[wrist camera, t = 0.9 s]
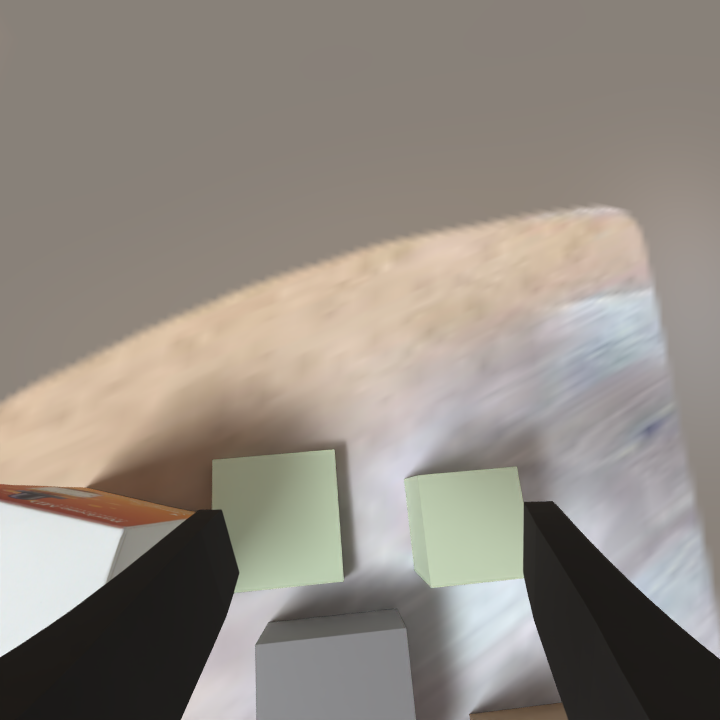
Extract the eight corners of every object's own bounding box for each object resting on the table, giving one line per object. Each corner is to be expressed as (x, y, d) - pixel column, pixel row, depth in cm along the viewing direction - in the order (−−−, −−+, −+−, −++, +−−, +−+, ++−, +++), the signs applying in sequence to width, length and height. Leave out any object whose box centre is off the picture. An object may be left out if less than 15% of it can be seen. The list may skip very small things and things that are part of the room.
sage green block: (500, 561, 25) (537, 576, 20) (414, 570, 25) (431, 588, 20) (485, 471, 27) (516, 466, 22) (403, 479, 26) (417, 475, 21)
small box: (216, 515, 25) (132, 526, 15) (184, 623, 23) (65, 717, 13) (82, 484, 25) (-88, 476, 15) (41, 589, 24) (-181, 657, 14)
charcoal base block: (411, 761, 22) (426, 816, 18) (272, 779, 22) (258, 839, 18) (396, 607, 24) (406, 628, 20) (269, 621, 24) (255, 644, 20)
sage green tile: (343, 578, 24) (343, 581, 23) (216, 591, 24) (210, 595, 23) (334, 451, 26) (334, 449, 25) (217, 461, 26) (212, 459, 25)
